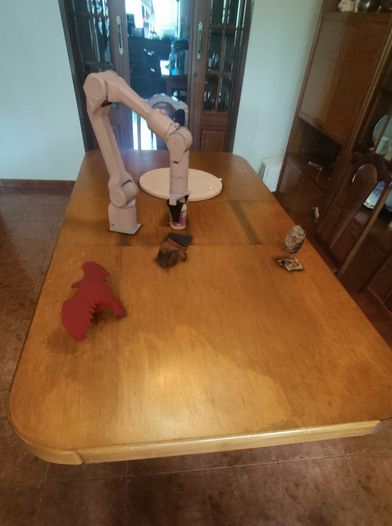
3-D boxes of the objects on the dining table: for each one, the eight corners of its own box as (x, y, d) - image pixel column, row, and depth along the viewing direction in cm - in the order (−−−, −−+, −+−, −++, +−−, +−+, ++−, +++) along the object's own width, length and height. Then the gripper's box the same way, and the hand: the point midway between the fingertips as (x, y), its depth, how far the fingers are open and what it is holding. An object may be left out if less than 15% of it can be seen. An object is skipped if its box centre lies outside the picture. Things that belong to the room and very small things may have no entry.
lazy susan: (237, 184, 156) (238, 176, 154) (194, 209, 133) (195, 201, 130) (171, 164, 169) (171, 157, 167) (122, 185, 146) (121, 177, 143)
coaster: (163, 243, 112) (163, 243, 112) (169, 233, 117) (169, 232, 117) (185, 247, 111) (185, 246, 111) (190, 237, 117) (190, 236, 116)
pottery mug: (152, 256, 107) (162, 233, 104) (177, 267, 111) (188, 245, 108) (157, 267, 97) (168, 242, 94) (184, 278, 101) (195, 255, 98)
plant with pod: (294, 254, 113) (313, 196, 98) (305, 272, 105) (327, 212, 90) (272, 254, 112) (288, 196, 97) (281, 272, 104) (300, 212, 90)
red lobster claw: (119, 294, 98) (78, 260, 89) (140, 279, 93) (99, 242, 85) (96, 364, 78) (42, 329, 70) (121, 349, 74) (66, 310, 65)
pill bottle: (167, 227, 109) (167, 199, 102) (174, 221, 113) (174, 193, 106) (182, 231, 108) (183, 202, 101) (188, 224, 112) (189, 196, 105)
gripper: (185, 185, 93) (184, 229, 103) (196, 169, 103) (194, 211, 113) (162, 181, 94) (163, 226, 104) (175, 166, 104) (175, 208, 113)
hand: (178, 218), depth 108 cm, fingers closed on pill bottle, 5 cm apart
